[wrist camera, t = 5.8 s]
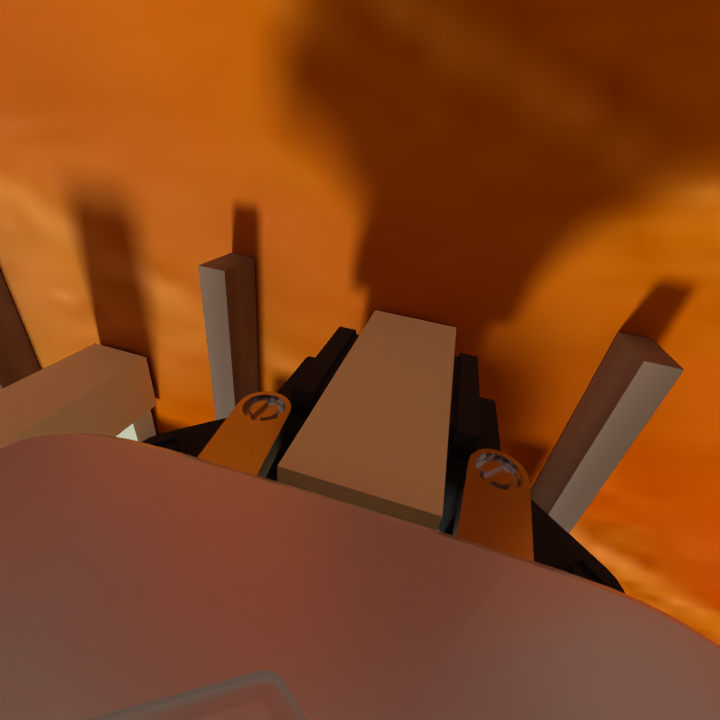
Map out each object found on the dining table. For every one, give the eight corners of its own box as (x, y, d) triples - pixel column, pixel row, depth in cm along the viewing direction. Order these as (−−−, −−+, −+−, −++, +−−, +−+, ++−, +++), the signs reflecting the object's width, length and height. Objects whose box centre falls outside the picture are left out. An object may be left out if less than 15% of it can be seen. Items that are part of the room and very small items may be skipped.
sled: (590, 357, 12) (748, 609, 5) (449, 622, 22) (441, 830, 15) (264, 286, 14) (71, 403, 7) (269, 558, 24) (190, 717, 17)
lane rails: (651, 339, 11) (684, 369, 10) (453, 661, 24) (452, 699, 22) (-46, 196, 16) (-107, 200, 14) (97, 529, 29) (74, 552, 27)
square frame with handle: (227, 379, 17) (66, 524, 10) (246, 587, 27) (170, 732, 20) (24, 324, 19) (-226, 415, 12) (110, 537, 28) (-1, 654, 22)
